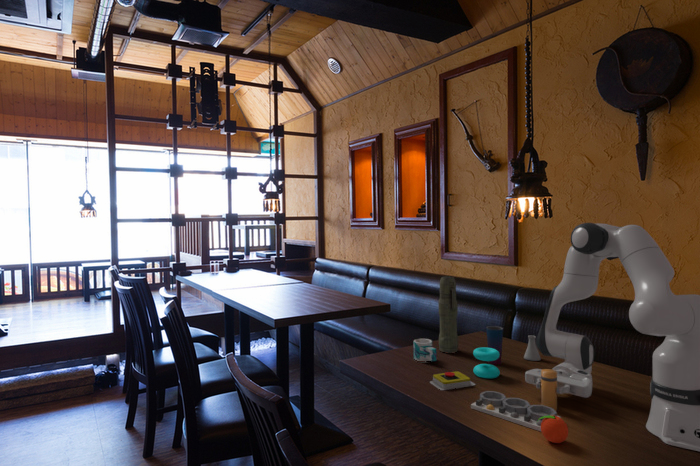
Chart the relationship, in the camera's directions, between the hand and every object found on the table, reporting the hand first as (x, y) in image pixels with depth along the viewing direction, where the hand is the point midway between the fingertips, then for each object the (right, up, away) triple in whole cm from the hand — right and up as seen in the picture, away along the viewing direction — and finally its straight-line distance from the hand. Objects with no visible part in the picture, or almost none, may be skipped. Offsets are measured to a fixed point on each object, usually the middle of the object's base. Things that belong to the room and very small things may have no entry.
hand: (548, 388), depth 140 cm
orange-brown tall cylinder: (+1, -7, +1) cm, 7 cm away
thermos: (-17, -6, +65) cm, 67 cm away
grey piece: (-12, -7, -3) cm, 14 cm away
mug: (-30, -6, +51) cm, 60 cm away
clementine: (-8, -7, -20) cm, 23 cm away
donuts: (-10, -6, +32) cm, 34 cm away
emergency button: (-25, -7, +24) cm, 35 cm away
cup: (-1, -6, +47) cm, 47 cm away
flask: (+16, -5, +51) cm, 54 cm away
